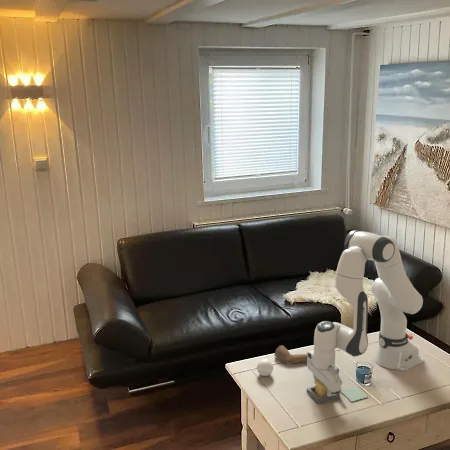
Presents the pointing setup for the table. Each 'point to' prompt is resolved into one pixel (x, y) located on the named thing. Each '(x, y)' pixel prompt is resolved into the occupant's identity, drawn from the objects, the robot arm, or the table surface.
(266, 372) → the white ovoid
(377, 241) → the robot arm
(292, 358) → the pipe
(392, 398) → the table surface
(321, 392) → the block
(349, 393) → the pad
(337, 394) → the case
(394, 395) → the table surface
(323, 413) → the table surface
